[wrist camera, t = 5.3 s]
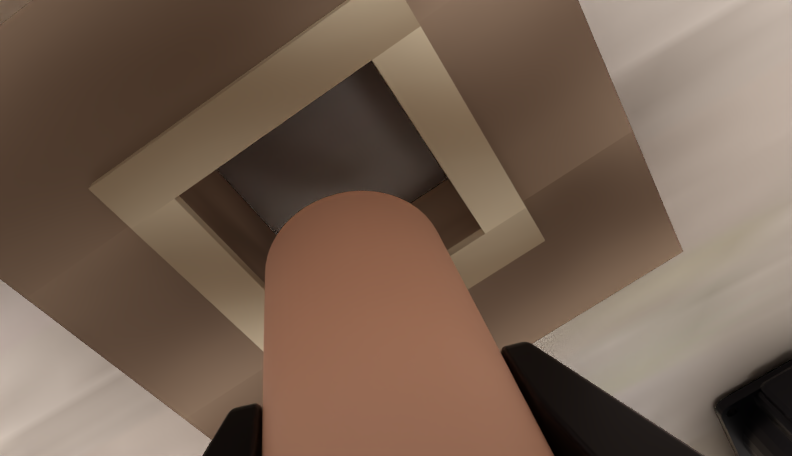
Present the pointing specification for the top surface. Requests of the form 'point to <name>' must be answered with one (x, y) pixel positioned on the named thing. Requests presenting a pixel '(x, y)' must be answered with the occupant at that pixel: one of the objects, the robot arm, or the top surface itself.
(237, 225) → the socket block
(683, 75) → the top surface
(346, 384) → the peg
